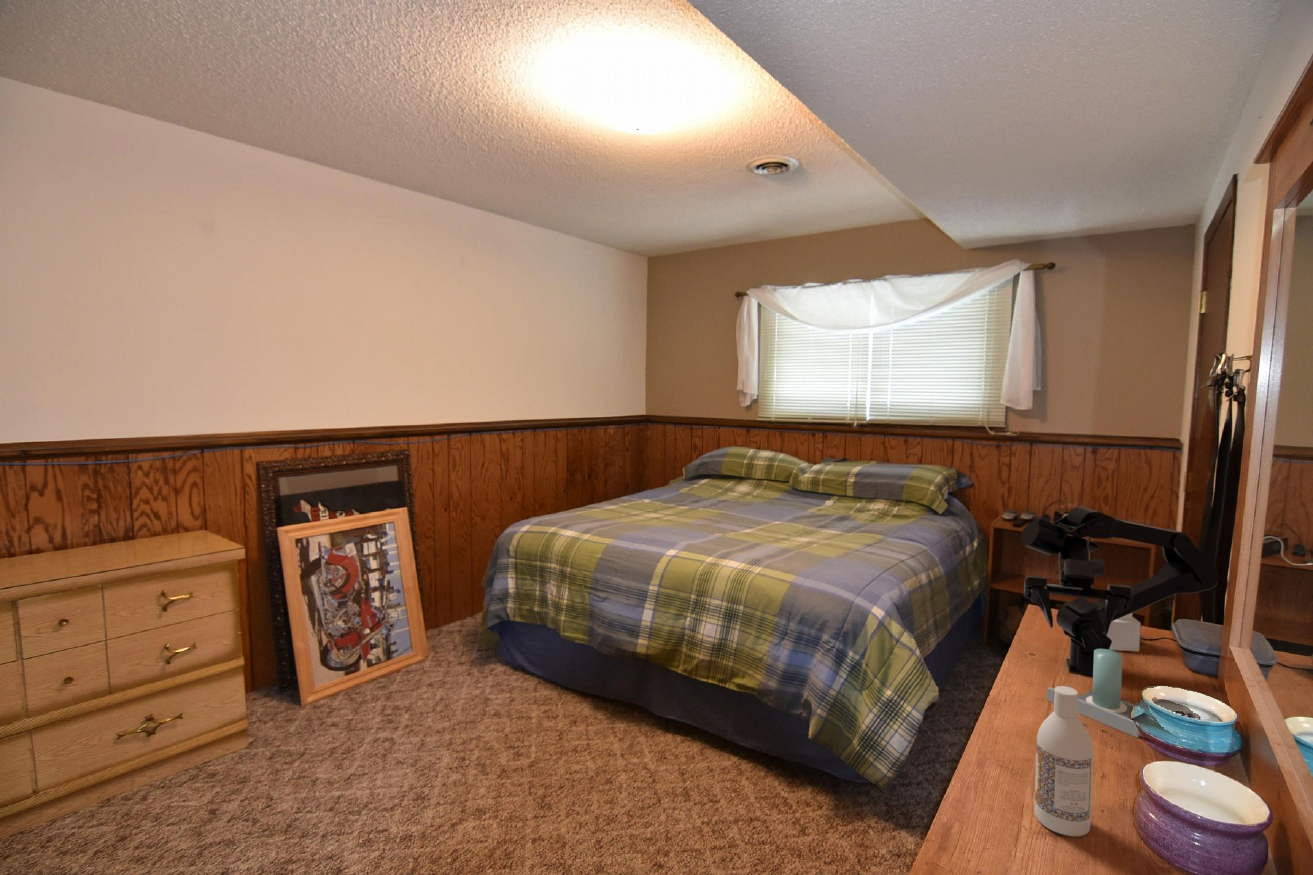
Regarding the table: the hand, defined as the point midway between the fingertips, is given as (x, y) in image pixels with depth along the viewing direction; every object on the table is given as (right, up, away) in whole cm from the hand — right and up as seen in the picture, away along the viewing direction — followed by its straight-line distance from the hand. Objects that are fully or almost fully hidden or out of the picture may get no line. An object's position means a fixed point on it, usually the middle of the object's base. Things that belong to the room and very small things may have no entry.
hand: (1078, 630), depth 130 cm
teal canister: (+2, -13, -4) cm, 14 cm away
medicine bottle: (+25, -11, +25) cm, 37 cm away
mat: (+2, -14, -4) cm, 15 cm away
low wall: (-2, -14, -7) cm, 16 cm away
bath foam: (-25, -18, -35) cm, 47 cm away
